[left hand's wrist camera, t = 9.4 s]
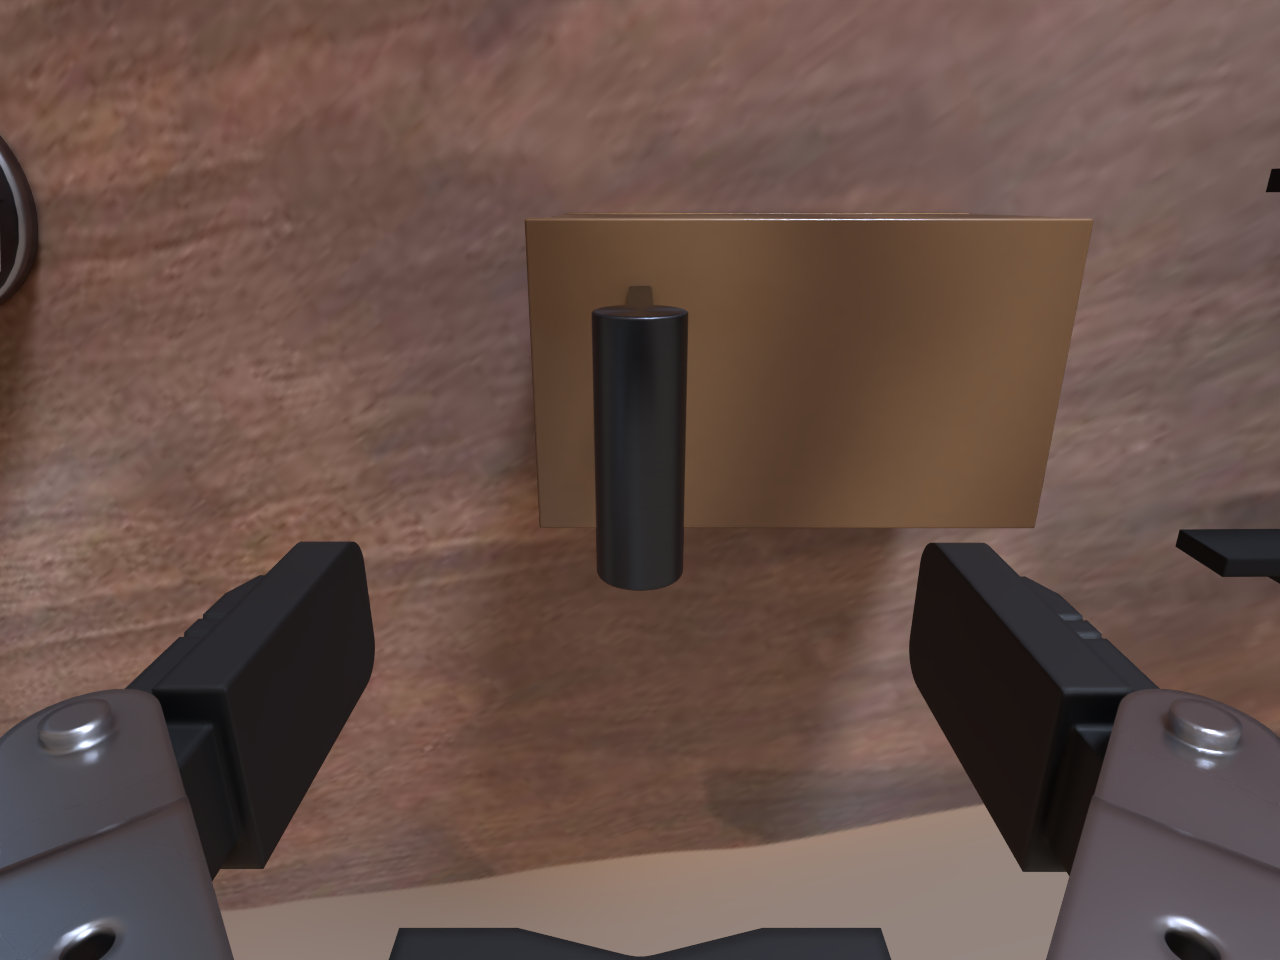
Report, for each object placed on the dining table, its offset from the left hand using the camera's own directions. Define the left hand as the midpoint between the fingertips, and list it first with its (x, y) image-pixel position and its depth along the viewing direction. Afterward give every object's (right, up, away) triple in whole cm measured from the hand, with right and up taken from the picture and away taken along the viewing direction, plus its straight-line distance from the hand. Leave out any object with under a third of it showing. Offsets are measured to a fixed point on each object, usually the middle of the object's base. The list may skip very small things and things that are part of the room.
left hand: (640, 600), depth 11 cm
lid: (+5, +5, +14) cm, 16 cm away
